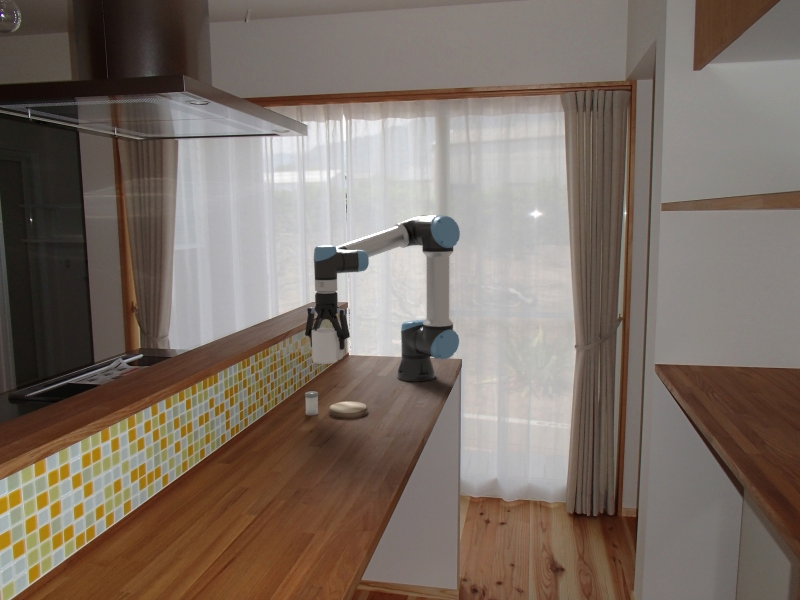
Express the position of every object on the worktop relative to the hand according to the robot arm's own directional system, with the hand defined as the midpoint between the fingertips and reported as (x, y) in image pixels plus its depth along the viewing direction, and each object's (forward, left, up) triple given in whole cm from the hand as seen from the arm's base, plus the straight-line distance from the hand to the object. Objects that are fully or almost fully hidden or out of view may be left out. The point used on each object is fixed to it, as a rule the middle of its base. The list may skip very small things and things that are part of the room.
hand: (327, 357), depth 223 cm
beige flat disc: (+4, +9, -17) cm, 20 cm away
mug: (0, 0, -1) cm, 1 cm away
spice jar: (+8, -2, -17) cm, 19 cm away
